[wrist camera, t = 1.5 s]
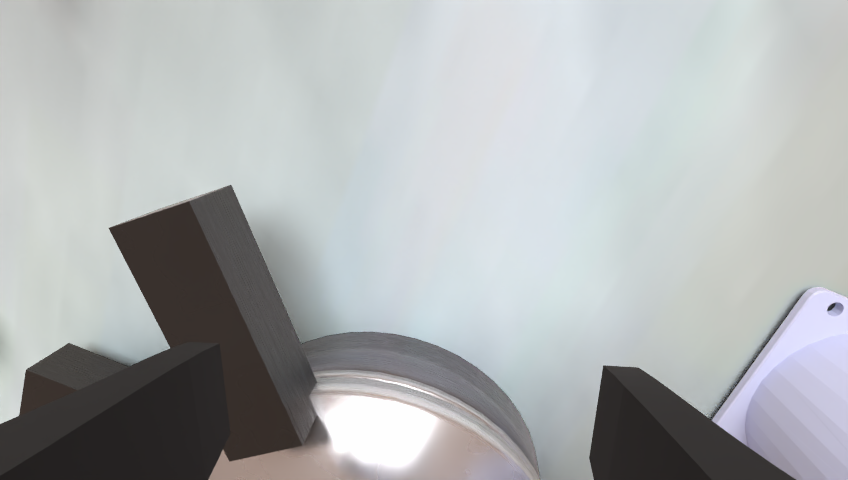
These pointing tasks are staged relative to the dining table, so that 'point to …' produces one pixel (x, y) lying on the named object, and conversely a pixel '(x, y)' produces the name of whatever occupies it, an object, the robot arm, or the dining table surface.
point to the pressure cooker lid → (291, 366)
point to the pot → (329, 358)
